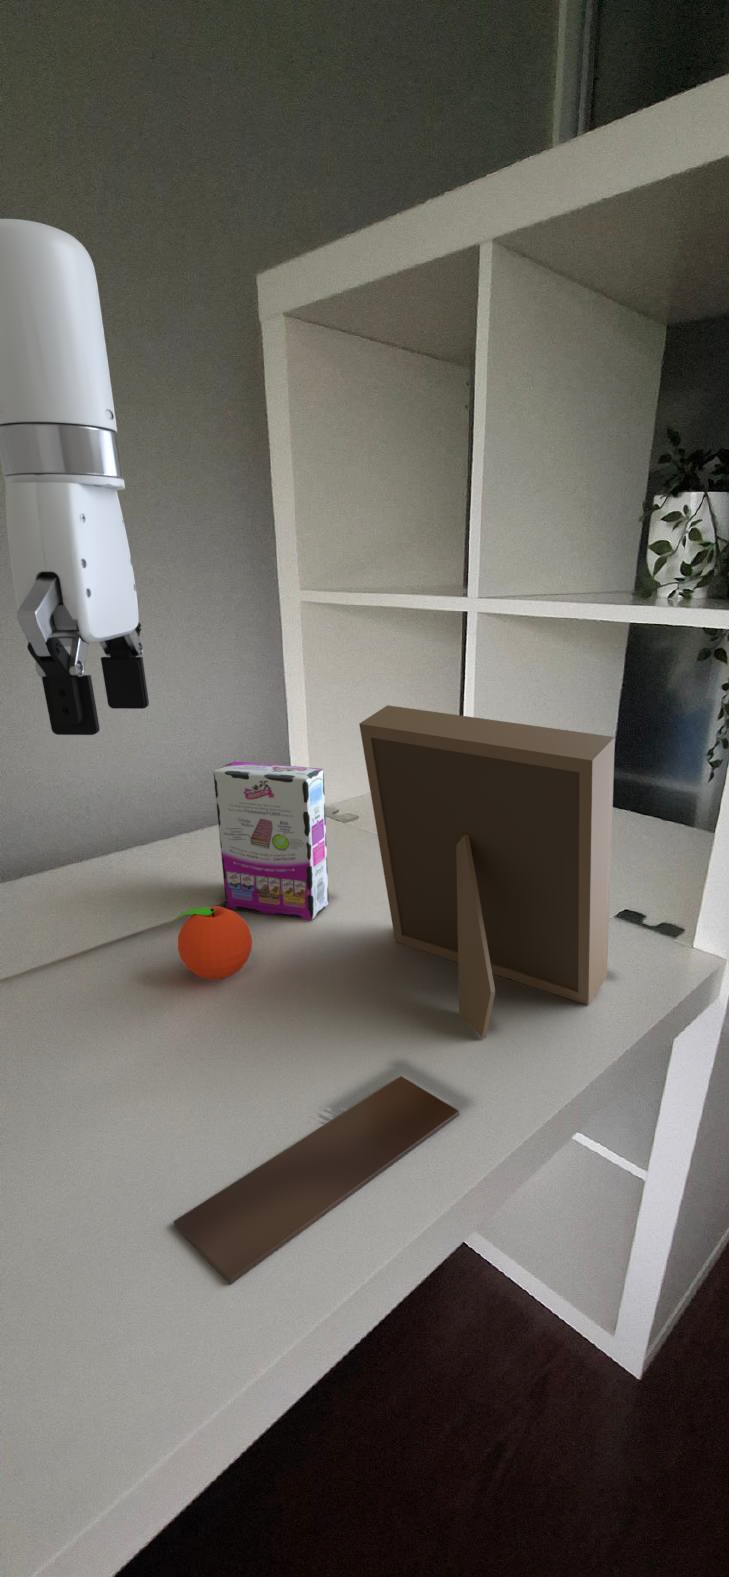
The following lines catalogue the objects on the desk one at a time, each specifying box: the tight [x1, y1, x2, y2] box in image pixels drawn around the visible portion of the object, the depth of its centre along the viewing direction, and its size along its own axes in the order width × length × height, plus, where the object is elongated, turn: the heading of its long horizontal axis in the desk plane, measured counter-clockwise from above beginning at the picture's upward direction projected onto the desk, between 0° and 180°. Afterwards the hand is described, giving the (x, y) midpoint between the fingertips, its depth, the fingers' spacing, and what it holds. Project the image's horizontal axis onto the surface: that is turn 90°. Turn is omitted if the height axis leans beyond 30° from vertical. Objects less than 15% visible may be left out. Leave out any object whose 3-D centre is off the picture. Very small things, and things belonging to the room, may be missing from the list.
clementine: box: [168, 906, 253, 980], centre depth 74 cm, size 8×7×7 cm
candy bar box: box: [212, 760, 330, 921], centre depth 87 cm, size 11×5×16 cm, turn 73°
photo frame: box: [359, 704, 616, 1039], centre depth 69 cm, size 15×22×25 cm
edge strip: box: [173, 1075, 460, 1285], centre depth 52 cm, size 6×20×1 cm, turn 137°
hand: (104, 719), depth 59 cm, fingers open, 9 cm apart
